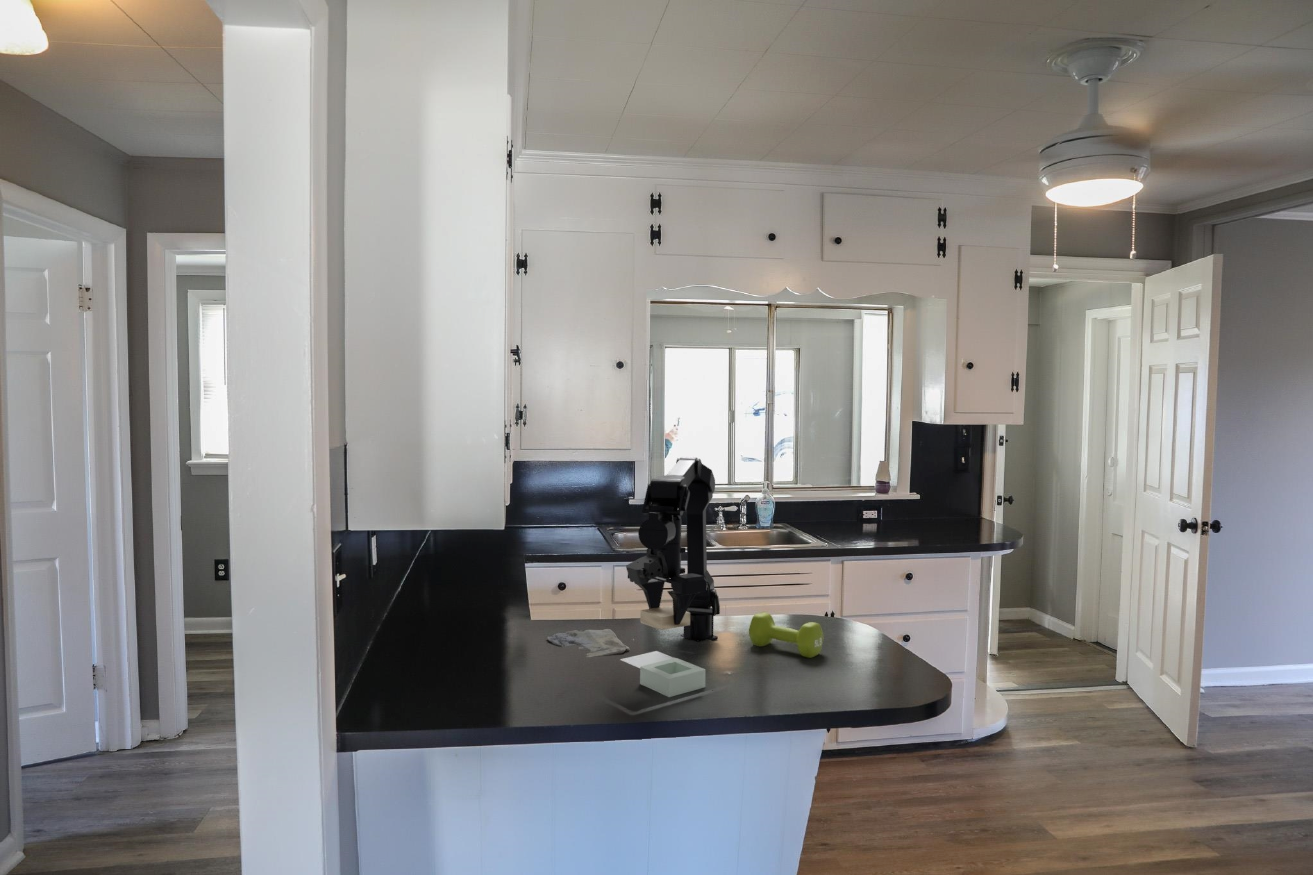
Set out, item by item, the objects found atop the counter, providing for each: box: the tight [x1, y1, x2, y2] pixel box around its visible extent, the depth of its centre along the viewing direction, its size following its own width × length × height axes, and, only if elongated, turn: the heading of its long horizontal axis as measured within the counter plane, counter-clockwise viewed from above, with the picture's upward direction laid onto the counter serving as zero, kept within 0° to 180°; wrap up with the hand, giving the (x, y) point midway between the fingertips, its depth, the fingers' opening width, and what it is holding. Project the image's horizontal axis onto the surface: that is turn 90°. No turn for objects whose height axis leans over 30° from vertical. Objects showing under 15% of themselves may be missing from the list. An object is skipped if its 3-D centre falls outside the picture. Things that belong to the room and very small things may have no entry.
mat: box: [619, 650, 674, 669], centre depth 176 cm, size 10×10×1 cm
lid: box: [639, 605, 690, 631], centre depth 164 cm, size 7×7×2 cm
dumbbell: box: [748, 611, 825, 659], centre depth 187 cm, size 16×8×7 cm, turn 50°
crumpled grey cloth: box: [547, 628, 630, 658], centre depth 188 cm, size 18×15×2 cm
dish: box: [639, 657, 707, 698], centre depth 161 cm, size 9×9×4 cm
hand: (665, 620), depth 164 cm, fingers closed on lid, 7 cm apart
